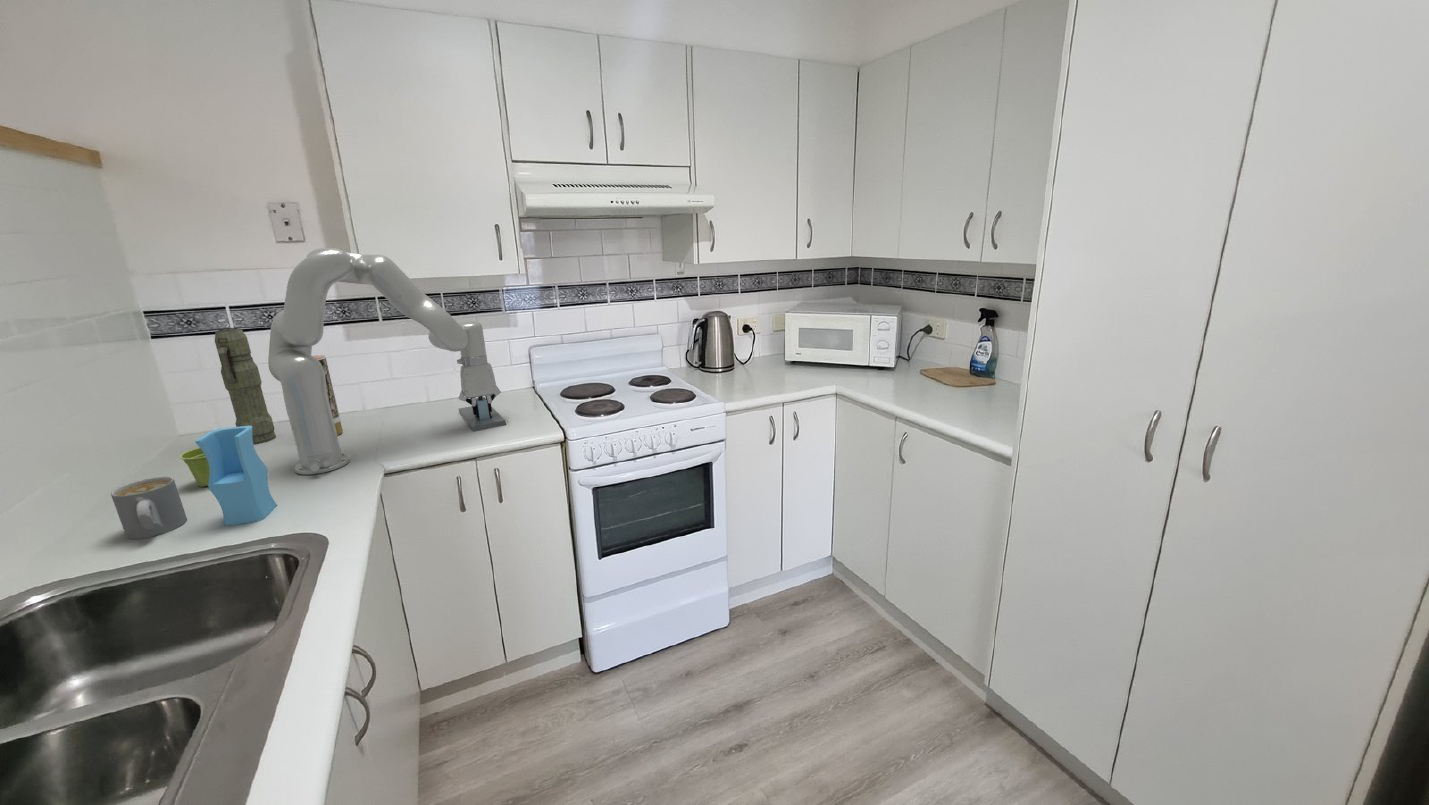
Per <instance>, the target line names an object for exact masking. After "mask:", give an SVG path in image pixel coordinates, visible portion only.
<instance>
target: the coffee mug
mask: <svg viewBox="0 0 1429 805" xmlns="http://www.w3.org/2000/svg"><path fill="white" fill-rule="evenodd" d="M110 496H111V499H112V501H113V504H114V506H115V509H116V513H117V515H118V519H119V520H120V524H121V526H122V529H123V532H124V534H125V537H126V538H127V539H130V540H142V539H147V538H153V537H157V536H161V535H163V534H167V533H169V532H173V531H175V530H176V529H178V528H180V527H182V526H183V525H185V524H186V523H187V521H188V517H187V515H186V512H185V509H184V508H185V507H184V505H183V503H182V499H181V497H180V494H179V491H178V487H177V485H176V481H175V479H174V477H172V476H156V477H149V478H144V479H140V480H136V481H132V482H129V483H127V484H124V485H121V486H119V487H117V488H115V489H114V490H112V491H111V493H110Z"/></svg>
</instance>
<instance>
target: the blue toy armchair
mask: <svg viewBox="0 0 1429 805" xmlns="http://www.w3.org/2000/svg"><path fill="white" fill-rule="evenodd" d="M194 442H195V443H196V445H197V446H198V448H200V449H201V450H202V451H203V453H204V454H205V456H206V458H207V460H208V463H209V482H208V486H207V487H208V489H209V491H210V492H211V494H212V495H213V496H214V498H215V499H216V500H217V502H218V504H219V506H220V508H221V511H222V515H223V525H224V526H229V527H230V526H233V525H234V526H235V525H236V526H237V525H242V524H247V523H249V524H250V523H256V522H259V521H262V520H265V519H266V518H267V517H268V516H269V515H270V514H271V512H273V510H274V509H275V508H276V507H277V506H278V504H277V502H276V501H275V500H274V498H273V496H272V494H271V492H270V487H269V481H268V471H269V470H268V467H267V465H266V464H265V462H263V461H262V459H261V458H260V457H259V454H258V453H257V451H256V449H255V446H254V445H255V444H254V445H253V439H252V426H241V427H236V426H233V427H224V428H217V429H213V430H211V431H209V432H207V433H205V434H204V435H202V436H200V437H199V438H197V439H195V440H194Z"/></svg>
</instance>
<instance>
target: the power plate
mask: <svg viewBox="0 0 1429 805" xmlns="http://www.w3.org/2000/svg"><path fill="white" fill-rule="evenodd" d="M491 407H492V412H490V413H491V415H490V416H489V417H490V419H485V420H480V421H479V420H478V418H477V417H476V415H474V414H473V408H472V405H470V406H465V407H461V408H458V414H460V416H461V417H462V419H463V420H464V422H466V424H467V425H468V426H469V427H470V429H471V430H472V431H473V432H477V431H482V430H488V429H493V428H498V427H501V426H506V425H507V422H506V419H505V418H504V417H503V416H502V415H501V414H500V413H499V412H498V411H497V410H496V409H495V408H494V407H493V406H492V405H491Z"/></svg>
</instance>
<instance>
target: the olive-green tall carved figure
mask: <svg viewBox="0 0 1429 805" xmlns="http://www.w3.org/2000/svg"><path fill="white" fill-rule="evenodd" d="M214 344H215V347H216V351H217V355H218V358H219V361H220V365H221V369H220V374H221V377H222V381H223V384H224V388H225V390H226V391H227V393H228V394H229V398H230V401H231V405H232V408H233V412H234V415H235V427H241V426H252V439H253V445H259V444H264V443H267V442H270V441H272V440H275V439H276V437H277V436H276V433H275V425H274V422H273V418H272V416H271V414H270V413H269V411H268V408H267V404H266V400H265V396H264V393H263V389H262V382H263V381H262V379H261V375H260V371H259V367H258V365H257V364H256V363H255V361H254V357H252V351H251V347H250V343H249V341H248V337H247V335H246V334H245V332H244V330H242V328H239V327H227V328H226V327H225V328H220V329H218V330H217V331H215V333H214Z"/></svg>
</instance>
